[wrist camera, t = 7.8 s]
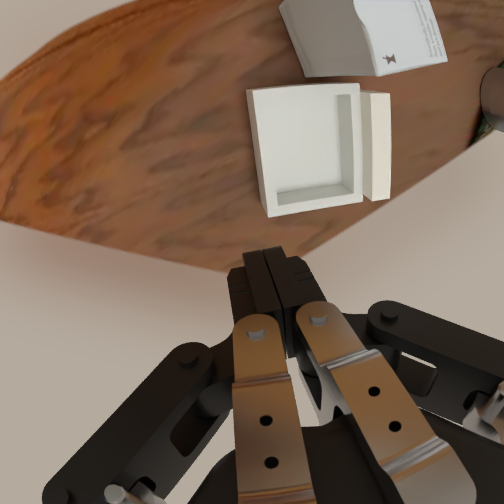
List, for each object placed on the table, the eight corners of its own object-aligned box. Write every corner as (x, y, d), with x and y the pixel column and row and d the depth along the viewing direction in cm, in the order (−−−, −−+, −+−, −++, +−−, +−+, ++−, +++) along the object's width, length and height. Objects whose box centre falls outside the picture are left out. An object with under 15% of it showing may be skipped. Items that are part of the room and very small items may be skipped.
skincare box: (354, 65, 27) (454, 69, 15) (300, 79, 28) (380, 83, 15) (328, -8, 23) (416, -50, 10) (271, 2, 23) (331, -51, 10)
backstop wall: (358, 89, 29) (389, 93, 23) (362, 178, 34) (389, 198, 29) (341, 89, 28) (370, 93, 23) (346, 181, 34) (372, 201, 28)
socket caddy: (341, 81, 28) (359, 83, 24) (346, 188, 34) (362, 201, 30) (245, 89, 27) (252, 90, 24) (260, 201, 33) (268, 217, 30)
